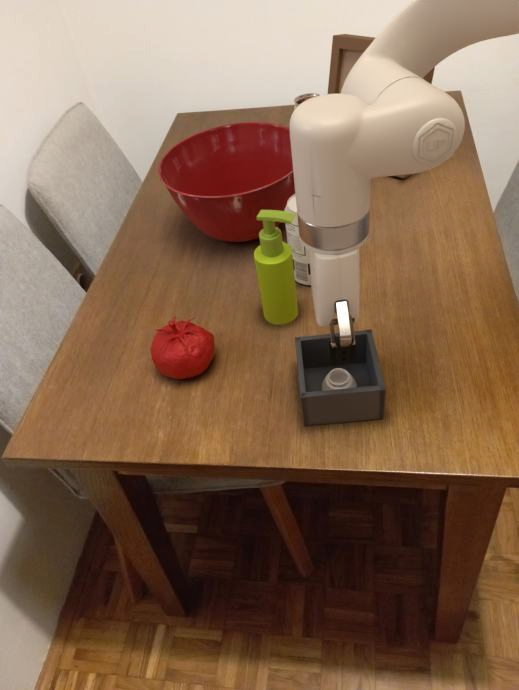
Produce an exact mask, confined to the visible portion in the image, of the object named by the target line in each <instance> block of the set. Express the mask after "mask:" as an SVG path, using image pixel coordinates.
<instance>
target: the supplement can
mask: <svg viewBox="0 0 519 690" xmlns="http://www.w3.org/2000/svg"><path fill="white" fill-rule="evenodd" d="M284 211H285V212H289V213H292V214H295V215H296V216H295V218H294V220H293V221H292V223H291V224H287V223H284V224H285V231H286V232H285V233H286V243H287V244H288V245H289V246H290V247H291V249H292V257H293V267H294V277H295V282H296V283H298V284H302V285H305V286H311V276H310V262H309V249H307V248H306V247H305V246H304V245H303V244H302V243H301V241H300V238H299V227H298V217H297V206H296V195H295V194H294V195H293V196H291V197H290V198H289V200H288V201H287V205H286V207H285V210H284Z"/></svg>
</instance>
